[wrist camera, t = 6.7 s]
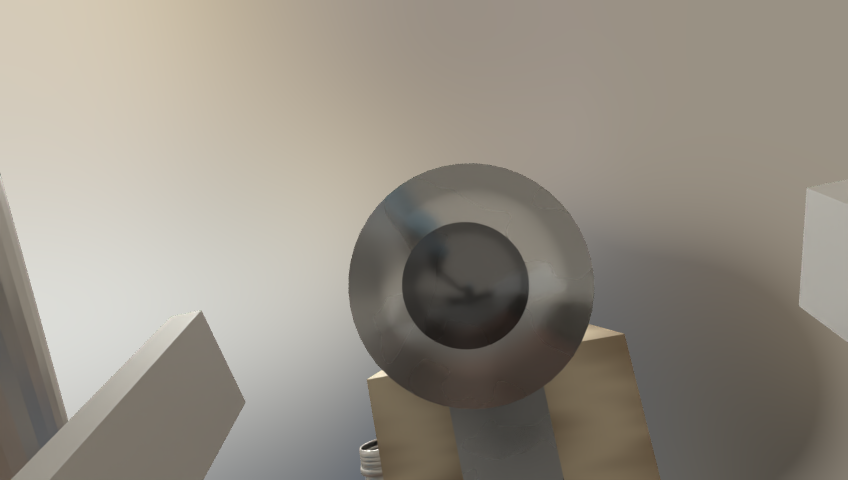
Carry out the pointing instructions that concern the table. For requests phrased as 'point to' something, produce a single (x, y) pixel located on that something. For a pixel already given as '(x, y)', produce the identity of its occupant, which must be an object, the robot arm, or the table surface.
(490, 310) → the grey round-headed handle
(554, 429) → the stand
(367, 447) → the plastic bottle
